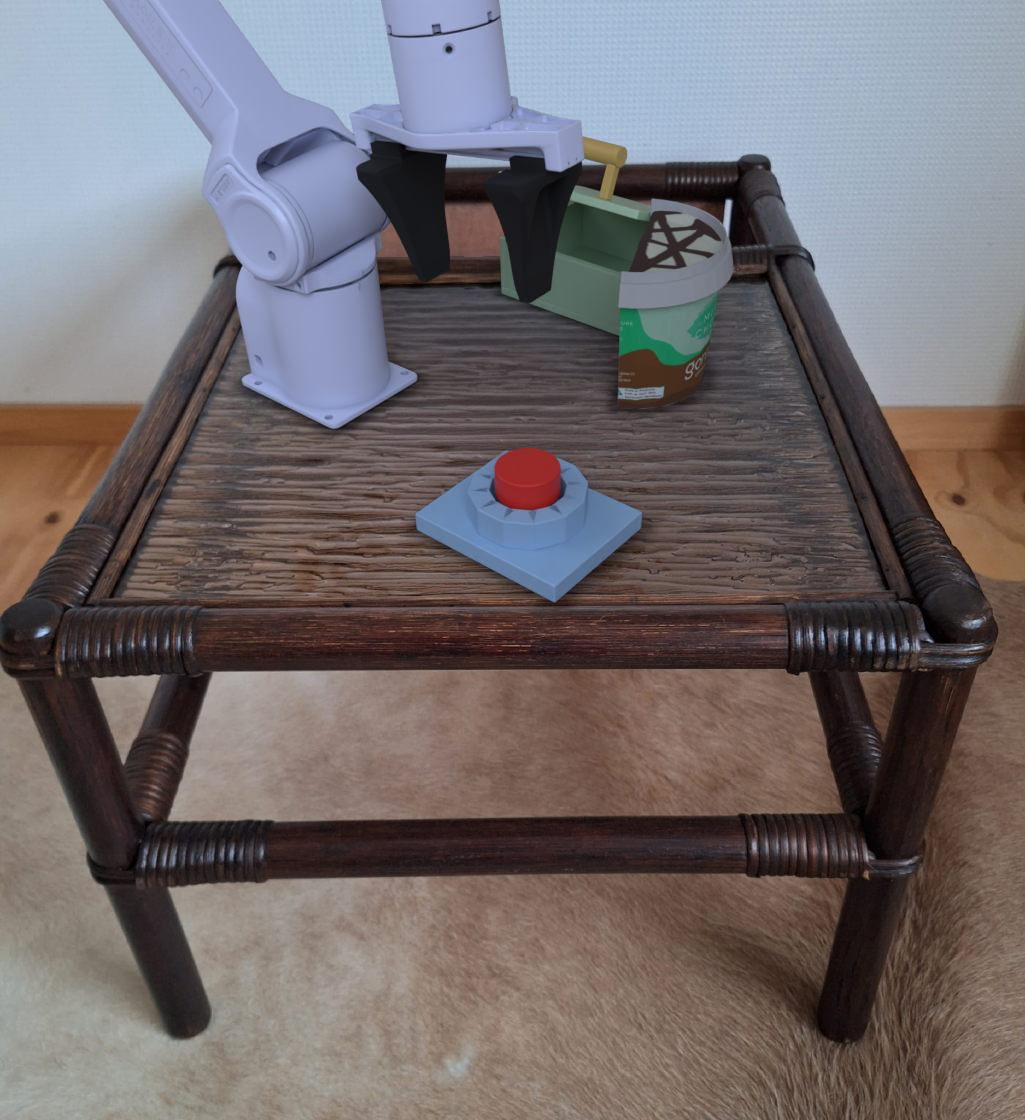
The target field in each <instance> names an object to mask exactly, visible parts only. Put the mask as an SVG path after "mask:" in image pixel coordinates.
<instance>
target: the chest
mask: <svg viewBox="0 0 1025 1120" xmlns="http://www.w3.org/2000/svg"><path fill="white" fill-rule="evenodd" d="M648 224H649V222H648V221H642V220H636V219H632V218H629V217H626V216H622V215H619V214H615V213H612V212H608V211H605V210H602V209H598V208H595V207H591V206H588V205H584V204H581V203H577V202H574V201H571V200H569V203H568V206H567V209H566V212H565V215H564V218H563V222H562V225H561V229H560V234H559V238H558V243H557V249H556V255H555V262H554V269H553V277H552V286H551V291H549V292H547V293H546V294H544V295H543V296H541V297H539V298H538V299H536V300H535V301H533V302H531V303H528V304H529V305H532V306H535V307H538V308H540V309H542V310H546V311H548V312H551V313H553V314H557V315H560V316H562V317H565V318H567V319H570V320H571V319H572V320H573V321H576V322H579V323H582V324H585V325H587V326H591V327H592V328H595V329H599V330H600V331H604V332H606V333H610V334H612V335H615V336H619V335H620V308H618V305H619V292H620V283H621V272H622V271H624V272H629V270H630V267H631V265H632V262H633V259H634V256H635V254H636V251H637V248H638V244H639V241H640V239H641V237H642V236H643V234H644V232H645V230H646V228H647V226H648ZM499 260H500V261H499V262H500V286H501V287H500V288H501V290H500V291H501V292H500V293H501V295H504V296H506V297H510V298H512V299H515V300H518V301H520V300H519V298H518V295H517V292H516V289H515V286H514V281H513V275H512V269H511V263H510V258H509V252H508V247H507V243H506V240H505V236H504V234H503V235H501V236H500V237H499Z"/></svg>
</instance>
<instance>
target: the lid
mask: <svg viewBox="0 0 1025 1120" xmlns="http://www.w3.org/2000/svg"><path fill="white" fill-rule="evenodd" d="M582 137H583V148H584V160H587V161H591V162H595V163H598V164H602V165H603V164H604V165H606V167H605V171H604V174H603V178H602V182H601V187H600V190H597V189H593V188H589V187H586V186H583V185H582V186H581V185H577V184H576V185H575V188H574V190H573V192H572V195H571V198H570V200H569V201H574V202H577V203H581V204H584V205H588V206H591V207H595V208H598V209H602V210H605V211H608V212H612V213H615V214H619V215H622V216H626V217H629V218H632V219H636V220H642V221H648V222H649V221H650V215H651V204H646V203H643V202H639V201H635V200H632V199H628V198H625V197H621V196H618V195H615V194H614V192H615V187H616V183H617V179H618V176H619V172H620V168H623V167H624V166H625V164H626V162H627V159H628V149H627V147H626V146H624V145H619V144H615V143H611V142H607V141H603V140H600V139H595V138H591V137H588V136H583V135H582ZM502 171H503V170H499V171H498V173H500V172H502Z"/></svg>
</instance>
